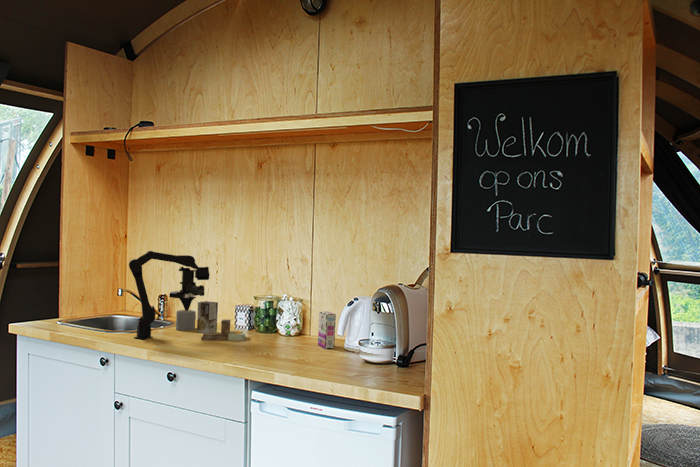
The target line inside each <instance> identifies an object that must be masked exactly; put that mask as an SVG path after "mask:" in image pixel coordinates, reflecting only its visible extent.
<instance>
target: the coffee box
mask: <svg viewBox="0 0 700 467" xmlns="http://www.w3.org/2000/svg"><path fill="white" fill-rule="evenodd" d="M218 307H219V303H218V301H217V302H216V301H208V300H206V301H198V302H197V315H196V316H197V317H196V319H197V322H196V323H197V324H196V332H197V333H201V332H202V334H216V333H215V332H218V309H219V308H218Z"/></svg>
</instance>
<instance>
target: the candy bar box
mask: <svg viewBox="0 0 700 467" xmlns="http://www.w3.org/2000/svg"><path fill="white" fill-rule="evenodd" d="M336 315H337V314H336V313H333V312H332V311H331V312H330V311H319V313H318V336H317V337H318V338H317V346H320V347H321V348H323V349H325V350H327V349H328V350H334V349H335V341H336V340H335V339H336V338H335V337H336V334H335V333H336V319H337V318H336V317H337V316H336Z"/></svg>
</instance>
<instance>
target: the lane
mask: <svg viewBox="0 0 700 467" xmlns="http://www.w3.org/2000/svg"><path fill="white" fill-rule="evenodd" d="M200 340H201V341H229V340H228V337H221V333H210V334H207V333H202V336H201V338H200Z"/></svg>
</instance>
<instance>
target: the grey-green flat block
mask: <svg viewBox="0 0 700 467" xmlns="http://www.w3.org/2000/svg"><path fill="white" fill-rule="evenodd" d="M235 331H236V330H230V334H228V340H227V341H245V340H246V330H239V331H240V332H241V333H242V334H234V332H235Z"/></svg>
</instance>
